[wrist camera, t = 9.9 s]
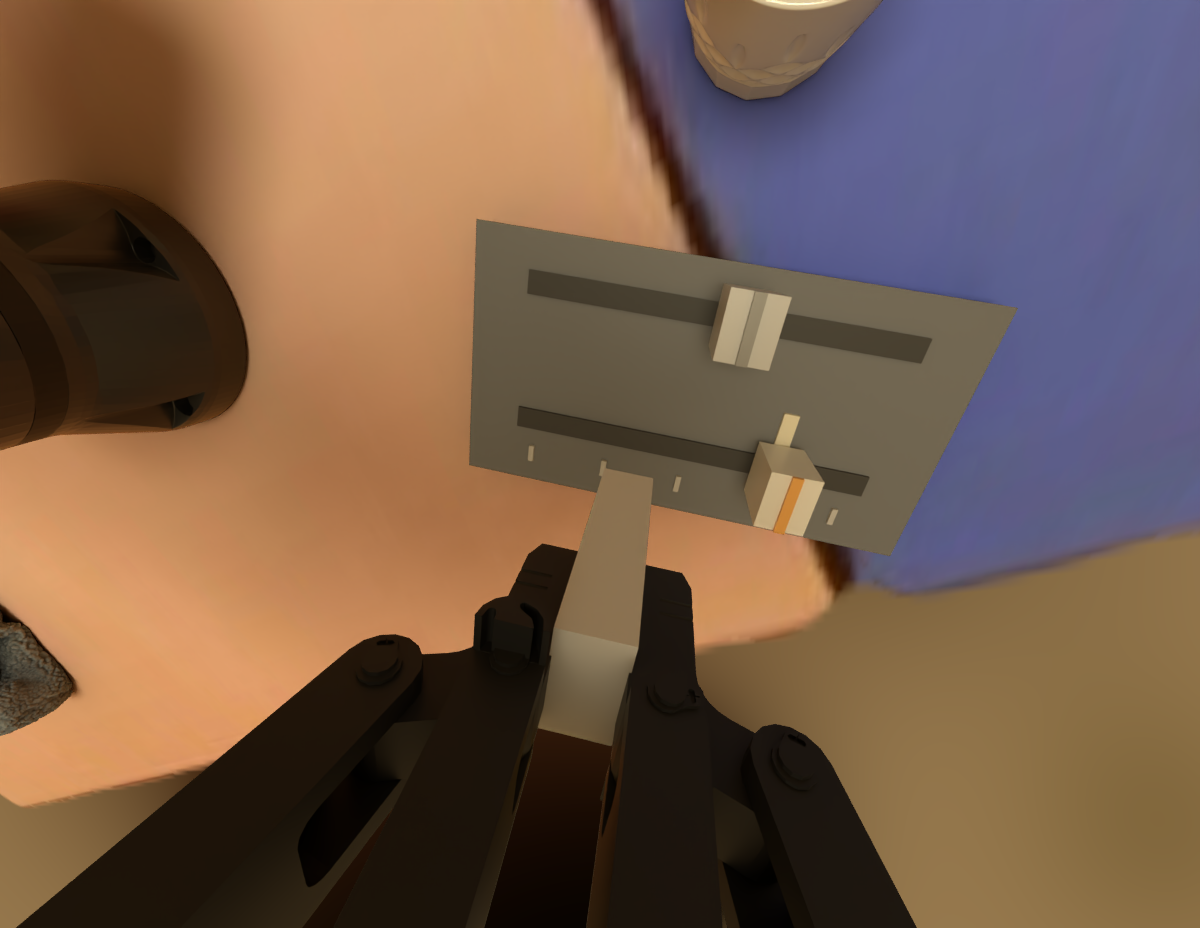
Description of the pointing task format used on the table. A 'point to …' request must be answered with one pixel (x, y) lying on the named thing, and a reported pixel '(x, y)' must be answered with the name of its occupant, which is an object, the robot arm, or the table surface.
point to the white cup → (770, 40)
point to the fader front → (748, 326)
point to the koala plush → (27, 679)
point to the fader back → (782, 489)
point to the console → (715, 379)
